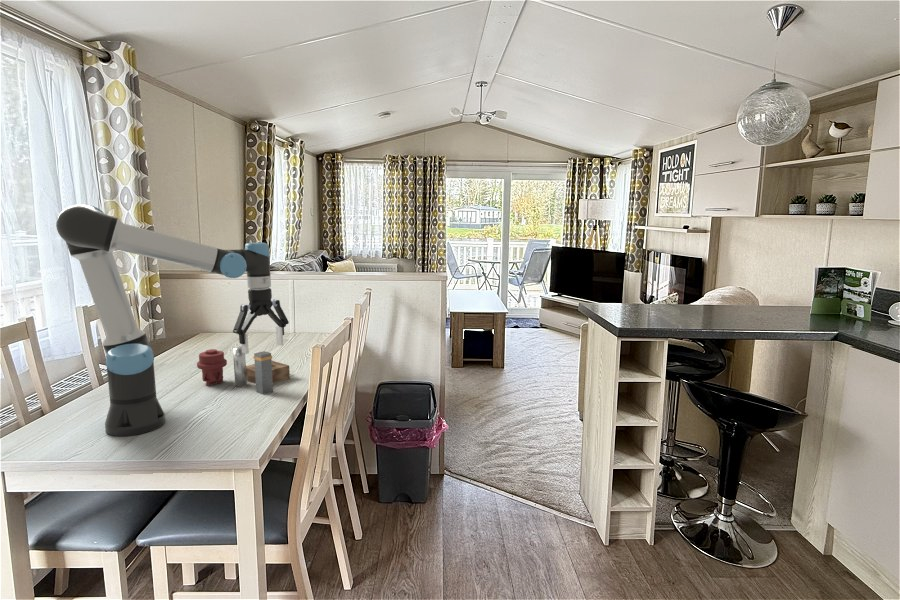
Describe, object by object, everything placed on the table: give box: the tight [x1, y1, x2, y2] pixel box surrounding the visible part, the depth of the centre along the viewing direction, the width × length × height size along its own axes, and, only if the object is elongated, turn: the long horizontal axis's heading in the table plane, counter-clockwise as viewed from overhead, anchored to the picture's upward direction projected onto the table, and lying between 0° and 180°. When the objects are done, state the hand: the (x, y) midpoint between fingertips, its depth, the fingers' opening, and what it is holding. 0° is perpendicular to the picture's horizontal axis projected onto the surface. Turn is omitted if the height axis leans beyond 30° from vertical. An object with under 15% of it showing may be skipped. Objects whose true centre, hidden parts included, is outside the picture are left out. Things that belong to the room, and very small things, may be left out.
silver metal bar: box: [232, 345, 248, 388], centre depth 193 cm, size 4×4×14 cm
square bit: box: [253, 350, 274, 395], centre depth 186 cm, size 4×4×14 cm
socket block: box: [246, 359, 291, 385], centre depth 201 cm, size 12×12×5 cm
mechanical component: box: [196, 348, 228, 386], centre depth 195 cm, size 12×10×10 cm
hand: (263, 348), depth 184 cm, fingers open, 13 cm apart
